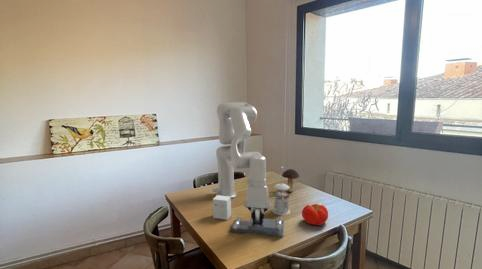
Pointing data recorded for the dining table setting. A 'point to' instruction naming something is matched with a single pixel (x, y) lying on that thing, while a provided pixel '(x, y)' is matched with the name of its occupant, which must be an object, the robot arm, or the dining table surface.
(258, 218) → the steel pin
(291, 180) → the decorative mushroom
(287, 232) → the dining table surface
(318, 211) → the tomato
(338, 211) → the dining table surface
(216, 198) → the small box
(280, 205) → the french press
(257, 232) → the plate with square hole
